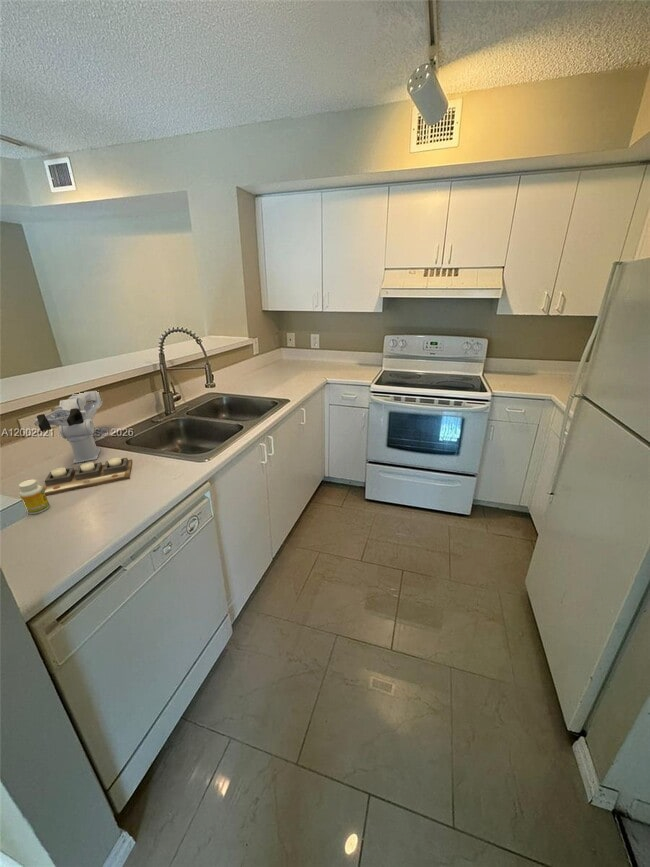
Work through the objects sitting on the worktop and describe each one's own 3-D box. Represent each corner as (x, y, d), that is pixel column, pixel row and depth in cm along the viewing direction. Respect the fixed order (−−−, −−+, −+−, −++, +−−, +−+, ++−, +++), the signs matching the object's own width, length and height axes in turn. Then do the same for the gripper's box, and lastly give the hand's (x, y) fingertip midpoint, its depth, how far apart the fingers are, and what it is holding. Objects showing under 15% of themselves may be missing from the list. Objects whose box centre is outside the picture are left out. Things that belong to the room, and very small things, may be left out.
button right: (110, 464, 123) (108, 458, 122) (122, 461, 125) (121, 456, 124) (109, 469, 120) (107, 463, 119) (121, 466, 121) (119, 460, 120)
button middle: (83, 469, 120) (81, 463, 119) (96, 466, 121) (94, 461, 120) (81, 474, 117) (79, 468, 116) (94, 471, 118) (92, 466, 117)
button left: (55, 474, 117) (52, 468, 116) (68, 472, 118) (66, 466, 117) (51, 480, 113) (49, 474, 112) (65, 477, 115) (63, 471, 114)
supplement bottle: (26, 509, 102) (14, 483, 98) (48, 502, 105) (37, 476, 102) (29, 517, 99) (17, 489, 95) (51, 508, 102) (40, 482, 98)
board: (51, 476, 120) (48, 469, 118) (132, 461, 129) (130, 454, 128) (39, 497, 108) (35, 489, 107) (129, 478, 118) (127, 471, 116)
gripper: (37, 407, 116) (22, 418, 104) (85, 399, 121) (76, 409, 109) (45, 425, 118) (32, 439, 107) (92, 417, 123) (84, 429, 112)
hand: (55, 425), depth 108 cm, fingers open, 7 cm apart
